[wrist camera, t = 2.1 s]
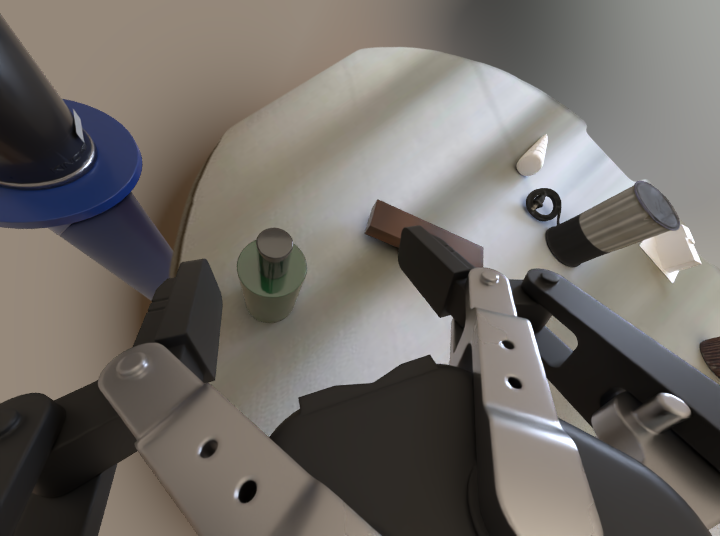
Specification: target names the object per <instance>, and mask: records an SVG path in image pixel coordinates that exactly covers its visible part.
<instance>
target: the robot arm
mask: <svg viewBox="0 0 720 536" xmlns="http://www.w3.org/2000/svg"><path fill="white" fill-rule="evenodd" d="M73 112H74V115H73V114H72V113H71V111H70V109H69V108H68V107H67V105H66V104H65V103H64V101H63V100H62V98H61V97H60V96H59V95H58V93H57V91H56V90H55V89H54V87H53V86H52V85H51V83H50V82H49V80H48V79H47V78H46V76H45V75H44V73H43V72H42V71H41V69H40V68H39V66H38V65H37V64H36V62H35V61H34V60H33V58H32V57H31V55H30V54H29V53H28V51H27V50H26V48H25V47H24V46H23V44H22V43H21V42H20V40H19V39H18V37H17V36H16V35H15V33H14V32H13V30H12V29H11V28H10V26H9V25H8V24H7V22H6V21H5V19H4V18H3V17H2V15H1V14H0V187H4V188H9V189H16V190H44V189H51V188H56V187H60V186H63V185H66V184H69V183H71V182H74V181H76V180H78V179H79V178H81V177H82V176H84V175H85V174H86V173H88V172H89V171H90V170H91V169H92V167H93V166H94V164H95V162H96V160H97V154H98V153H97V147H96V145H95V143H94V141H93V140H92V138H91V137H90V136H89V134H88V133H87V132H86V131H85V130H84V129H83V128H82V126H81V119H80V118H79V116H78V115H77V113H76V112H75V111H74V109H73ZM398 262H399V266H400V268H401V269H402V271H403V272H404V273H405V274H406V276H407V277H408V278H409V279H410V281H411V282H412V283H413V285H414V286H415V287H416V288H417V290H418V291H419V292H420V293H421V295H422V296H423V297H424V298H425V300H426V301H427V302H428V303H429V305H430V306H431V307H432V309H433V310H434V311H435V312H436V314H437V315H438V316H439V317H440V318H441V317H445V316H448V315H451V316H452V317H453V319H452V322H451V342H450V361H449V365H446V364H436V363H435V362H434V360H433V359H432V357H431V355H427V356H424V357H421V358H418V359H415V360H412V361H409V362H406V363H403V364H401V365H399V366H398V367H396V368H395V369H393V370H392V371H390V372H389V373H387V374H386V375H384V376H383V377H381V378H380V379H378V380H377V381H375V382H373V383H368V384H353V385H338V386H332V387H329V388H326V389H323V390H320V391H317V392H314V393H311V394H308V395H305V396H302V397H299V404H300V409H299V410H297V411H296V412H294V413H293V414H291V415H290V416H289V417H288V418H287V419H285V420H284V421H283V422H282V423H281V424H280V425H279V426H278V427H277V428H276V429H275V431H274V432H273V433H272V434H271V436H270V437H268V436H267V435H266V434H265V433H264V432H262V431H261V430H260V429H259V428H258V427H257V426H256V425H255V424H254V423H253V422H252V421H250V420H249V419H248V418H247V417H246V416H245V415H244V414H243V413H242V412H241V411H240V410H238V409H237V408H236V407H235V406H234V405H233V404H232V403H231V402H230V401H229V400H228V399H226V398H225V397H224V396H223V395H222V394H221V393H220V392H219V391H218V390H217V389H216V388H214V387H213V386H212V385H211V384H209V383H208V382H211V381H214V380H215V376H216V366H217V356H218V346H219V336H220V326H221V316H222V305H223V304H222V296H221V292H220V289H219V287H218V284H217V282H216V280H215V277H214V275H213V272H212V270H211V268H210V265H209V263H208V261H207V260H206V259H199V260H193V261H187V262H182V263H181V264H180V266H179V269H178V272H177V275H176V277H175V278H169V279H167V280H166V281H164V282H163V283H162V284H161V285H160V286H159V287H158V288H157V289H156V292H155V294H154V296H153V299H152V303H151V304H150V306H149V309H148V313H146V316H145V318H144V321H143V323H142V326H141V328H140V330H139V333H138V335H137V338H136V340H135V343H134V345H133V347H132V348H130V349H128V350H126V351H124V352H123V353H121V354H120V355H118V356H117V357H115V358H114V359H113V360H112V361H111V362H110V363H108V364H107V366H106V367H105V368H104V369H103V371H102V372H101V374H100V377H99V379H98V380H97V381H95V382H93V383H91V384H89V385H87V386H85V387H83V388H80V389H78V390H76V391H74V392H72V393H69V394H67V395H65V396H63V397H61V398H59V399H57V400H54V401H53V400H52V399H50V398H49V397H47V396H46V395H44V394H41V393H29V394H25V395H20V396H17V397H15V398H12V399H10V400H7V401H5V402H3V403H1V404H0V536H98V533H99V530H100V526H101V522H102V519H103V515H104V511H105V507H106V504H107V500H108V496H109V493H110V489H111V485H112V481H113V478H114V474H115V470H116V467H117V463H119V462H120V461H122V460H123V459H125V458H127V457H128V456H130V455H132V454H133V453H135V452H137V451H138V452H139V453H140V455H141V456H142V457H143V459H144V460H145V462H146V463H147V465H148V466H149V467H150V469H151V470H152V472H153V473H154V474H155V476H156V477H157V479H158V480H159V481H160V483H161V484H162V485H163V487H164V488H165V490H166V491H167V493H168V494H169V495H170V497H171V498H172V499H173V501H174V502H175V504H176V505H177V506H178V508H179V509H180V511H181V512H182V513H183V515H184V516H185V518H186V519H187V520H188V522H189V523H190V525H191V526H192V527H193V529H194V530H195V532H196V533H197V534H198V536H712V535H711V533H710V532H709V529H711V528H713V527H714V526H716V525H717V524H719V523H720V385H719V384H717V383H716V382H714V381H713V380H712V379H710V378H709V377H707V376H706V375H704V374H703V373H701V372H700V371H699V370H697V369H696V368H694V367H693V366H691V365H690V364H688V363H687V362H685V361H684V360H683V359H681V358H680V357H678V356H677V355H675V354H674V353H672V352H671V351H669V350H668V349H667V348H665V347H664V346H662V345H661V344H659V343H658V342H656V341H655V340H654V339H652V338H651V337H649V336H648V335H646V334H645V333H643V332H642V331H640V330H639V329H638V328H636V327H635V326H633V325H632V324H630V323H629V322H627V321H626V320H625V319H623V318H622V317H620V316H619V315H617V314H616V313H614V312H613V311H611V310H610V309H609V308H607V307H606V306H604V305H603V304H601V303H600V302H598V301H597V300H595V299H594V298H593V297H591V296H590V295H588V294H587V293H585V292H584V291H582V290H581V289H580V288H578V287H577V286H575V285H574V284H572V283H571V282H569V281H568V280H566V279H565V278H564V277H562V276H560V275H559V274H557V273H554V272H552V271H549V270H545V269H531V270H529V271H528V272H527V274H526V276H525V278H524V280H510V279H507V278H506V277H505V276H504V275H503V274H501V273H500V272H498V271H496V270H493V269H490V268H484V267H478V268H476V267H474V266H473V265H472V264H471V263H470V262H468V261H467V260H466V259H465V258H464V257H463V256H461V255H460V254H459V253H458V252H457V251H456V252H455V250H454V249H453V248H452V247H451V246H449V245H448V244H447V243H446V242H445V241H444V240H442V239H441V238H439V237H437V236H435V235H432V234H430V233H429V232H428V231H426V230H425V229H424V228H423V227H422V226H420V225H418V226H411V227H405V228H403V229H402V232H401V239H400V246H399V253H398ZM552 315H553V316H554V317H555V318H556V319H558V320H559V321H560V322H561V323H562V324H564V325H565V326H566V327H567V328H568V329H569V330H571V331H572V332H573V333H574V334H575V336H576V337H577V340H578V346H577V348H576V349H575V350H574V351H572V350H571V349H570V348H569V347H568V346H567V345H566V344H565V343H563V342H562V341H561V340H560V339H559V338H558V337H557V336H556V335H555V334H554V333H552V332H551V331H550V330H549V329H548V328H547V327H546V326H545V325H546V323H547V322H548V320H549V319H550V317H551V316H552ZM547 379H548V380H549V381H550V382H551V383H552V384H553V385H554V386H555V387H556V389H557V390H558V391H559V392H560V393H561V394H562V395H563V396H564V397H565V398H566V399H567V401H568V402H569V403H570V404H571V405H572V406H573V407H574V408H575V409H576V410H577V411H578V413H579V414H580V415H581V416H582V417H583V418H584V419H585V420H586V421H587V422H588V423H589V424H590V426H591V427H592V428H593V429H594V431H595V433H596V435H597V436H595V437H594V436H592V435H590V434H588V433H586V432H584V431H582V430H580V429H579V428H577V427H575V426H573V425H571V424H569V423H567V422H565V421H563V420H561V419H560V418H558V416H557V412H556V409H555V406H554V402H553V399H552V395H551V392H550V388H549V385H548V381H547Z"/></svg>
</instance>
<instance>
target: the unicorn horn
mask: <svg viewBox="0 0 720 536" xmlns="http://www.w3.org/2000/svg"><path fill="white" fill-rule="evenodd" d="M546 146H547V134H546V135H544V136H543V137H541V138H540V139H539V140H538V141H537V142H536V143H535V144H534V145H533V146H532V147H531V148H530V149H529V150H528V151H527V152H526V153H525V154H524V155H523V156H522V157H521V158H520V159H519V161H518V163H517V170H518V172H519V173H520V174H521V175H524V176H531V175H534V174H536V173H537V172H538V171H540V169H541V168H542V166H543V161H544V157H545V152H546Z"/></svg>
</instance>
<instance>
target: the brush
mask: <svg viewBox="0 0 720 536" xmlns="http://www.w3.org/2000/svg"><path fill="white" fill-rule="evenodd" d="M418 225H420V226H422V227H423V228H424V229H425V230H426V231H428V232H429V233H430V234H432V235H435V236H437V237H439V238H441V239H442V240H444V241H445V242H446V243H447V244H448V245H449V246H451V247H452V248H453V249H454V250H455V252H456V251H457V252H458V253H459V254H460V255H461V256H463V257H464V258H465V259H466V260H467V261H468V262H470V263H471V264H472V265H473V266H474V267H476V268H478V267H483V247H482V246H479V245H477V244H475V243H473V242H471V241H468V240H466V239H464V238H462V237H460V236H457V235H455V234H453V233H451V232H449V231H446V230H444V229H442V228H440V227H438V226H435V225H433V224H431V223H429V222H427V221H424V220H422V219H420V218H418V217H416V216H413V215H411V214H409V213H407V212H405V211H402V210H400V209H398V208H396V207H394V206H391V205H389V204H387V203H385V202H382V201H380V200H377V201H376V203H375V204H374V206H373V208H372V210H371V213H370V217H369V220H368V224H367V227H366V230H365V234H367V235H369V236H372V237H374V238H376V239H379V240H381V241H383V242H386V243H388V244H390V245H393V246H395V247H398V248H399V246H400V239H401V232H402V229H403V228H405V227H411V226H418ZM398 252H399V251H398Z"/></svg>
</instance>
